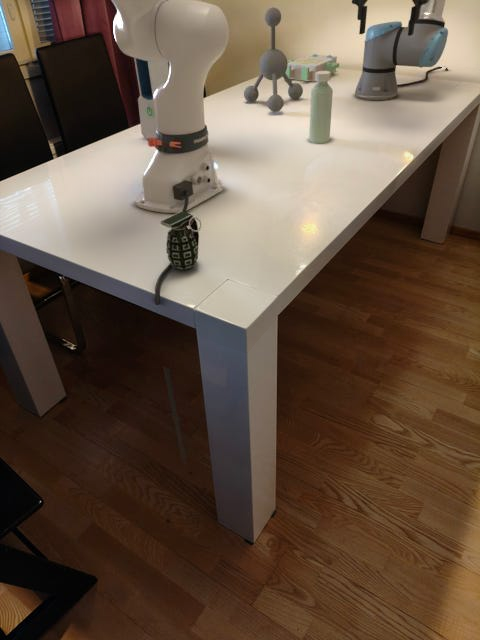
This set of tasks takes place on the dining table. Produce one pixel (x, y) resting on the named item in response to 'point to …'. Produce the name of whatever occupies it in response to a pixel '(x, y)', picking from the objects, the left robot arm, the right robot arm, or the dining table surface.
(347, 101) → the dining table surface
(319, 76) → the cap
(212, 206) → the dining table surface
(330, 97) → the bottle
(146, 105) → the electronic device
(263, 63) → the molecular model
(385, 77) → the right robot arm
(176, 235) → the grenade
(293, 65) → the decorative block
